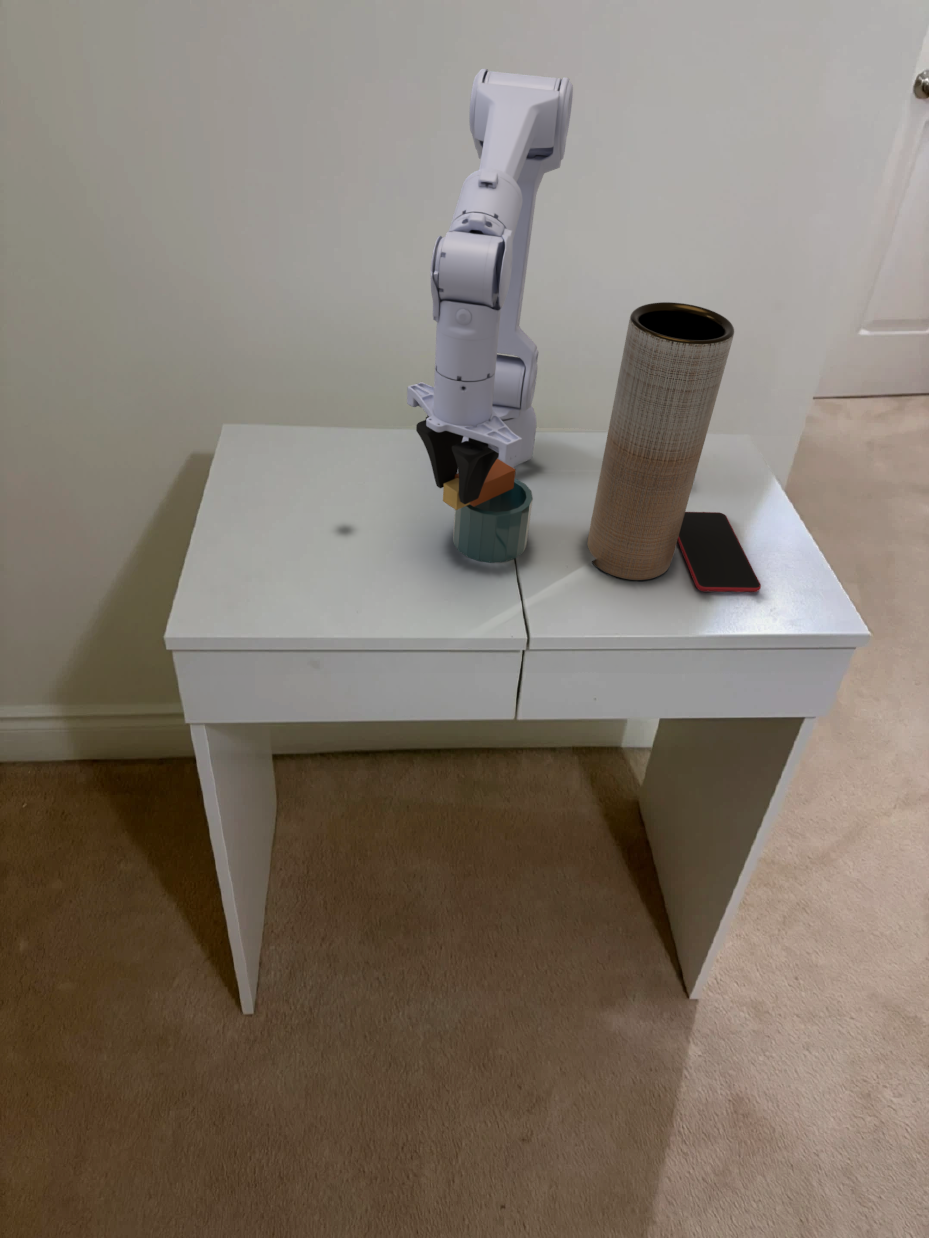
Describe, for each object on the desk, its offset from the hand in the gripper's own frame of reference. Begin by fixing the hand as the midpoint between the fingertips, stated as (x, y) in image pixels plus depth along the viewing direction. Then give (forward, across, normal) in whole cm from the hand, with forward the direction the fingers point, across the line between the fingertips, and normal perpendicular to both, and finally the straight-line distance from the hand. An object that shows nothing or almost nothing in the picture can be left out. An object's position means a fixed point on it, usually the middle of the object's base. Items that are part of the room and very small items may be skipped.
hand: (457, 491), depth 88 cm
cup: (+10, 0, +6) cm, 11 cm away
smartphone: (+10, +17, +26) cm, 32 cm away
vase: (+10, +11, +18) cm, 23 cm away
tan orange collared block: (+1, 0, +3) cm, 3 cm away
